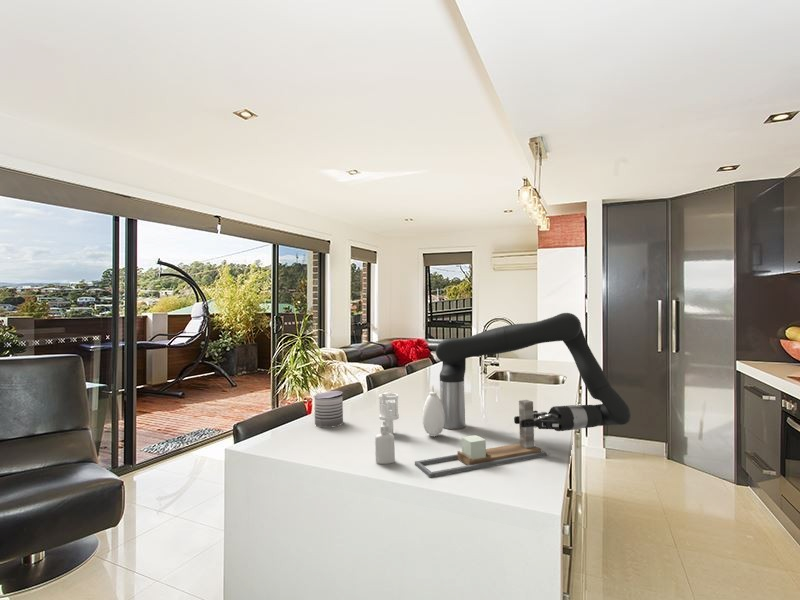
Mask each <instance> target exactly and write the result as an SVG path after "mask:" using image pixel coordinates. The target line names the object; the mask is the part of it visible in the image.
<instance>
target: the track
mask: <svg viewBox="0 0 800 600" xmlns="http://www.w3.org/2000/svg"><path fill="white" fill-rule="evenodd" d="M547 456H548V452H547V451H541V452H538V453H532V454H527V455H521V456H516V457H511V458H505V459H500V460H494V461H489V462H483V463H478V464H472V465H464V466H463V465H461V466H457V467H452V468H451V467H450V468H446V469H441V470H440V469H439V470H435V471H431V470H430V469H429V468H427V467H426V466H427V465H430V464H437V463H442V462H448V461H454V460H458V453H456V454H452V455H451V454H450V455H446V456H438V457H433V458H427V459H422V460H417V461H414V466H415V467H417V468H418V469H419V470H420V471H422V473H424V474H425V475H426V476H427V477H428V478H437V477H441V476H447V475H451V474H455V473H456V474H457V473H461V472H466V471H467V472H468V471H473V470H477V469H483V468H489V467H493V466H499V465H504V464H509V463H510V464H511V463H514V462H520V461H526V460H531V459H537V458H541V457H547ZM425 465H426V466H425Z"/></svg>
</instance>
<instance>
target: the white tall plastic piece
mask: <svg viewBox="0 0 800 600" xmlns="http://www.w3.org/2000/svg"><path fill="white" fill-rule="evenodd" d="M378 399H379V415H378V416H379V417H378V418H379V420H381V421H386V425H388V426H389V433H390V434H392V435H394V432H395V431H394V421H397V420H399V419H400V416H399V415H400V414H399V401H398V400H399V394H398V393H395V392H387V391H385V392H384V393H380V394H378Z"/></svg>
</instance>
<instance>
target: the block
mask: <svg viewBox="0 0 800 600" xmlns="http://www.w3.org/2000/svg"><path fill="white" fill-rule="evenodd" d="M486 443H487V441H486V439H485V438H483V437H480V436H478V435H469V436H463V437H461V452H462V453H464V454H465V455H467V456H468V457H470V458H472V460H474V459H479V458H485V457H486V449H487V444H486Z"/></svg>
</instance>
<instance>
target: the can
mask: <svg viewBox="0 0 800 600" xmlns="http://www.w3.org/2000/svg"><path fill="white" fill-rule="evenodd" d="M343 394H344V391H341V390H331V391H324V392H319V393H316V394H315V395H313V398H314V399H313V403H314V404H313V405H314V409H313V410H314V425H316V426H315V427H318V426H321V427H320V428H333V427H332V426H335V427H338V425H339V426H340V424H341V425H342V423H343V424H344V408H343V407H344V406H343V399H344V397H343Z"/></svg>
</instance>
